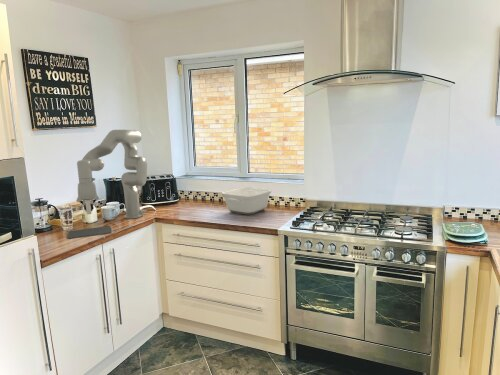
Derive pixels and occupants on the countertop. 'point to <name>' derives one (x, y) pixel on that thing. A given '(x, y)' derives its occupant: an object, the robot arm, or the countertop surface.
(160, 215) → the countertop surface
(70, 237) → the mat
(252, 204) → the white plastic tub
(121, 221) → the countertop surface
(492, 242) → the countertop surface
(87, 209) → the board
